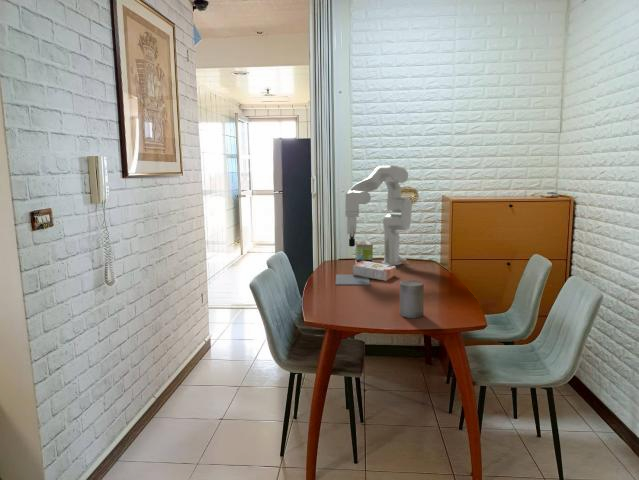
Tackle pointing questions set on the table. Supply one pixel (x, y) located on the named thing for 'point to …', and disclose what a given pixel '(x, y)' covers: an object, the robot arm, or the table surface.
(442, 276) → the table surface
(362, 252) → the tea box
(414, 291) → the pillar candle
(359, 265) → the cracker box
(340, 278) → the mat
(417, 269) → the table surface
